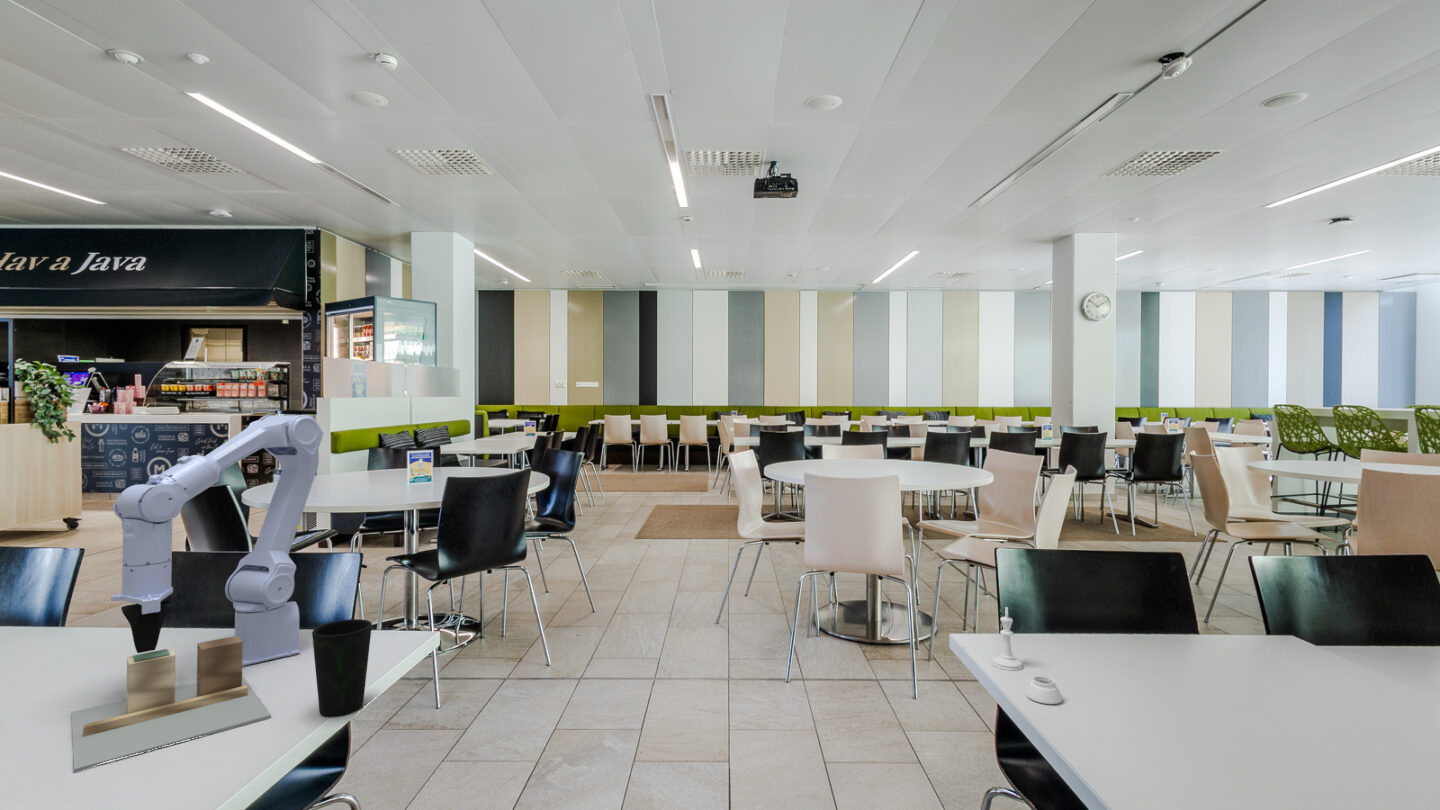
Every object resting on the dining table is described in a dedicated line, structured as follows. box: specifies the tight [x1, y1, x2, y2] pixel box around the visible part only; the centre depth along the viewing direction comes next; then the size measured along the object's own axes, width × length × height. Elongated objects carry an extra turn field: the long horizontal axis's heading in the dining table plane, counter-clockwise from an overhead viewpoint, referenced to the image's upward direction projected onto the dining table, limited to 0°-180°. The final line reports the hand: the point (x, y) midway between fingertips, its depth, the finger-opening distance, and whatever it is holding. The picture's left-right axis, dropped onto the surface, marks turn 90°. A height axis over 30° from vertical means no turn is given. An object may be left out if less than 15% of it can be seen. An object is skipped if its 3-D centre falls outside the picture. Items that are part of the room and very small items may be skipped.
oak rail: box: [83, 685, 248, 737], centre depth 93 cm, size 18×1×1 cm, turn 136°
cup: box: [311, 618, 373, 718], centre depth 96 cm, size 8×8×12 cm
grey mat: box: [70, 674, 272, 773], centre depth 93 cm, size 20×22×1 cm
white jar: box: [1024, 675, 1063, 705], centre depth 99 cm, size 5×3×5 cm
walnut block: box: [196, 635, 243, 697], centre depth 99 cm, size 5×4×8 cm
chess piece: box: [991, 606, 1024, 671], centre depth 112 cm, size 5×5×10 cm
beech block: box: [125, 648, 176, 714], centre depth 94 cm, size 5×4×8 cm
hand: (145, 650), depth 99 cm, fingers closed
